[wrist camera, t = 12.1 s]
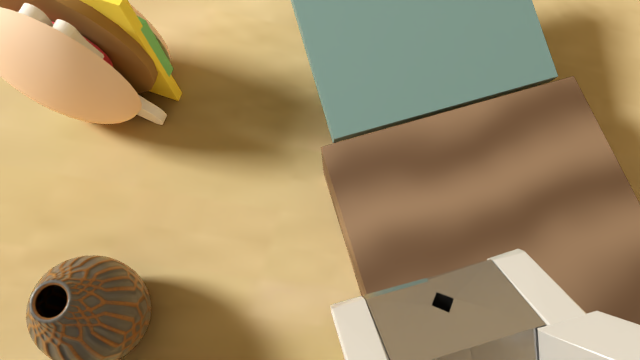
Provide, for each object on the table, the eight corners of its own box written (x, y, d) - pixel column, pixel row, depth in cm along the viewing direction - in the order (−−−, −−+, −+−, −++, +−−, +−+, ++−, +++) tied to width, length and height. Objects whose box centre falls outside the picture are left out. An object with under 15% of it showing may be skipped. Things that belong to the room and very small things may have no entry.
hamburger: (17, 112, 43) (-98, 21, 32) (68, 30, 46) (-23, -82, 35) (148, 158, 41) (75, 79, 30) (194, 70, 44) (141, -34, 33)
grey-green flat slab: (558, 76, 37) (507, -70, 38) (334, 139, 36) (289, -12, 37) (541, 87, 39) (494, -49, 40) (332, 146, 38) (290, 5, 40)
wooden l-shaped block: (661, 343, 35) (828, 329, 23) (401, 424, 34) (432, 454, 22) (547, 109, 41) (633, 0, 29) (323, 172, 40) (314, 87, 28)
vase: (180, 289, 38) (135, 266, 30) (133, 385, 36) (70, 389, 28) (98, 252, 39) (31, 221, 31) (47, 343, 37) (-38, 336, 29)
